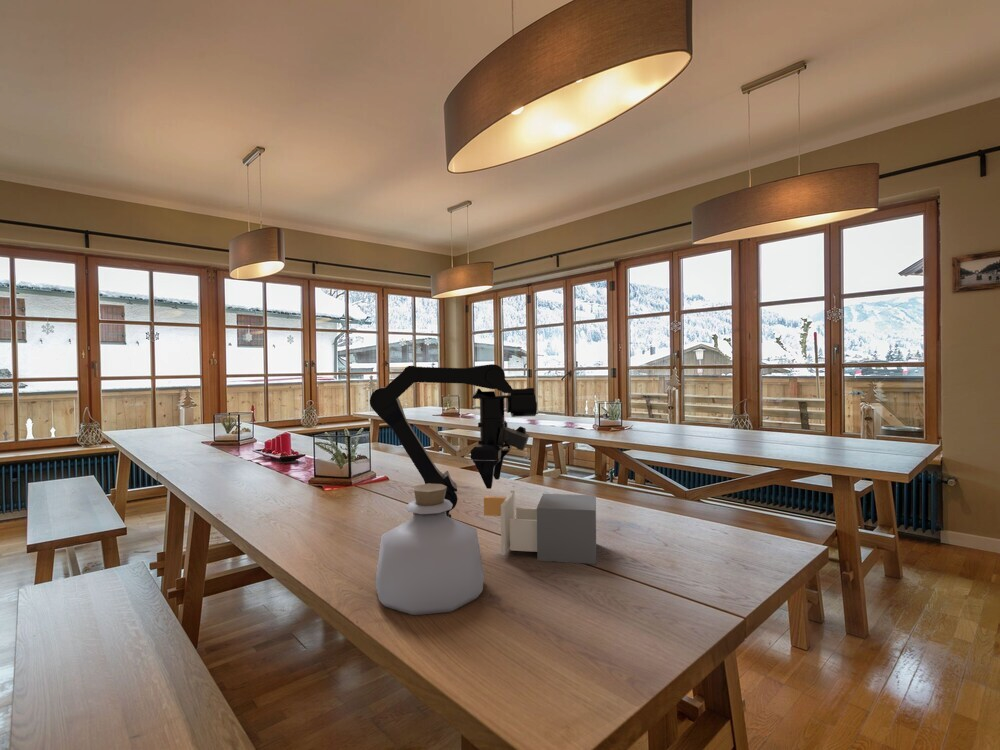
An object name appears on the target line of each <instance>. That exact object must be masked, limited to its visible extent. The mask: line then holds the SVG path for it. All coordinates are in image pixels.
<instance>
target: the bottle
mask: <svg viewBox="0 0 1000 750" xmlns="http://www.w3.org/2000/svg"><path fill="white" fill-rule="evenodd" d="M446 489H447V486H445V485H443V484H430V483H428V484H425V483H423V484H418V485H414V486H413V493H414V497H415V499H414V500H412V501H409V503H408V504H407V505H406V506H405V510H406V511H407V512H408V513H412V518H410V519H407V520H406V521H405V522H402V523H401V524H399V525H397V526H396V527H393V528H391V529H390V530H388V531H387V532H385V533H383V534H382V535H381V538H380V545H379V552H378V559H377V567H376V573H375V581H374V585H375V588H376V592H377V597H378V600H379V602H380V603H381V604H382V605H383V606H384V607H385V608H388V609H392V610H394V611H395V610H396V611H398V612H402V613H404V614H407V615H408V614H409V615H410V616H421V615H430V614H439V613H450V612H453V611H455V610H457V609H459V608H461V607H463V606H465V605H467V604H469V603H471V602H472V601H475V600H476V599H478V597H479V596H480V595H481V593H483V591H484V590H483V589H484V581H485V580H484V578H485V572H484V565H483V560H482V554H481V549H480V543H479V535H478V529H477V528H476V527H474V526H472V525H469V524H466V523H464V522H461V521H459V520H457V519H455V518H453V517H451V518H450V517H448V516H446V511H447V510H450V509H452V506H453V504H452V503H451V502H450V501H449V500H447V499H444V498H445V494H446ZM452 510H453V509H452Z"/></svg>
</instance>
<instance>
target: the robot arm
mask: <svg viewBox="0 0 1000 750" xmlns="http://www.w3.org/2000/svg"><path fill="white" fill-rule="evenodd" d="M414 383H431V384H433V383H435V384H438V383H439V384H465V385H471V386H475V387H478V388H476V391H475V392H474V393H473V394H471V398H472V399H474V400H479V422H478V423H477V427H478V428H479V432H480V433H479V435H480V439H478V442H477V443H478V444H477V445H475V446H473V448H472V449H471V450H470V460H472V463H474V465H475V467H476V469H477V471H478V473H479V475H480V477H481V480H482V481H483V484H484V485H485V487H486V489H488V490H489V489H490V490H491V489H492V487H493V481H494V480H500V477H501V472H502V469H503V464H504V459H505V457H506V455H508V453H509V452H510V451H511V448H512V447H514V448H515V449H516V450H519V451H524V450H525V449H526V447H527V444H528V441H529V438H530V435H529V434H528V433H527V429H526V427H523V426H521V425H519V426H518V428H517V429H515V428H511V427H508V422H507V421H506V420H505V410H506V413H507V414H508V413H510V416H511V418H522V417H527V418H528V417H536V416H537V410H538V409H537V408H538V401H537V399H536V393H535V388H534V387H526V388H512V385H510V384H509V382H508V381H507V379H506V374H505V371H504V369H503V368H502V367H501V366H500V365H498V364H494V363H492V364H491V363H490V364H482V365H477V366H470V367H436V366H435V367H432V366H416V365H408V366H406V367H405V368H404V369H403V370H402V372H400V373H399V374H398V375H397V376H396V377H395V378H394V379H393V380H392V381H391V382H390V383H388V384H387V385H386V386H383V387H380V388H377V389H375V390H374V391H373V392H371V395H370V397H369V405H370V407H371V409H372V410H373V411H374V412H375V413H376V414H377V415H378V417H379V418H380V419H381V420H382V421H383V422H384V423H385V424H386V425H388V427H390V429H392V432H393V433H394V435H395V436H396V437H397V439H398V440H399V443H400V444H401V445H402V447H403V449H404V451H405V452H406V453H407V456H408V457H409V459H410V460H411V462H412V463H413V465H414V467H415V469H417V471H418V473H419V474H420V476H421V478H422V479H423V481H424V484H428V483H430V484H443V485H445V486H447V489H446V494H445V498H444V499H447V500H449V501H450V502H451V503H452V504H453V506H452V509H450V510H447V511H446V516H448V517H450V518H452V514H451V513H450V512H451V511H453V509H455V508H456V506H457V503H458V495H457V492H458V487H457V483H456V482H455V481H454V480H453V479H452V478H451V475H450V472H449V470H446V471H445V472H444V473H443V472H441V470H440V469H438V468H437V466H436V465H435V463H434V461H433V459H432V458H431V456H430V455H429V453H428V452H427V450H426V448H425V447H424V445H423V443H422V442H421V439H420V438H419V437H418V435H417V434H416V432H415V431H414V429H413V428H412V426H411V424H410V423H409V421H408V419H407V417H406V415H405V412H404V408H403V405H402V404H401V403H402V402H401V400H400V399H399V398H400V397H401V395H403V394H404V393H405V392H406V391H407V390H408V389H409V388H410V387H412V386H413V384H414ZM479 387H480V388H479ZM481 388H485V389H488V391H487V390H486V391H483V390H482V389H481ZM489 389H490V391H489ZM494 390H497V391H499V392H501V393H504V394H506V395H504V394H503V395H501V394H500V395H496V393H495V391H494Z"/></svg>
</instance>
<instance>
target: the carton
mask: <svg viewBox="0 0 1000 750" xmlns="http://www.w3.org/2000/svg"><path fill="white" fill-rule="evenodd" d="M596 497H597V495H595V494H568V493H567V494H566V493H561V494H560V493H542V495H541V497H540V500H539V502H538V504H537V506H536V508H537V552H536V554H537V562H538V561H539V562H552V561H557V562H556V563H571V564H572V563H573V564H585V565H586V564H589V565H597V498H596Z"/></svg>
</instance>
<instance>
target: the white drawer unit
mask: <svg viewBox="0 0 1000 750" xmlns="http://www.w3.org/2000/svg"><path fill="white" fill-rule="evenodd" d="M515 503H516V502H515V490H510V492H509V493H508V495H507V496H484V497H483V516H489V517H490V516H492V517H493V516H494V517H500V543H501V546H500V549H501V552H500V553H501V556H506V554H507V552H508V550H509V551H516V552H517V551H518V552H533V553H534V552H535V553H537V507H535V508H534V507H515V506H516V505H515Z"/></svg>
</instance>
